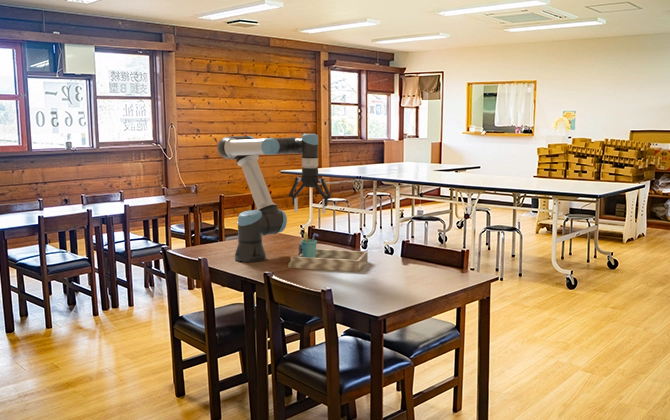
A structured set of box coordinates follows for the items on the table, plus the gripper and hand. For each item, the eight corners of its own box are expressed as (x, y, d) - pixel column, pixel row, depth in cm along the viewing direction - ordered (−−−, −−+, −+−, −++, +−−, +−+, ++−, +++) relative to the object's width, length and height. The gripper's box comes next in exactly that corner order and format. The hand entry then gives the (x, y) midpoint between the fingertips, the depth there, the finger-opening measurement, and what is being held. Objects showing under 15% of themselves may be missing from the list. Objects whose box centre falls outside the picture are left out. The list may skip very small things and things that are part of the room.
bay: (288, 267, 290) (288, 256, 289) (300, 258, 309) (300, 248, 308) (359, 271, 282) (359, 260, 281) (367, 261, 301) (367, 251, 301)
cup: (325, 264, 294) (325, 233, 292) (312, 267, 290) (311, 235, 288) (308, 259, 305) (308, 229, 303) (295, 261, 301) (295, 230, 299)
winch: (298, 256, 313) (297, 241, 312) (300, 254, 318) (300, 239, 317) (311, 257, 311) (311, 242, 310) (314, 255, 316) (314, 240, 315)
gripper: (281, 167, 290) (282, 212, 293) (334, 168, 285) (333, 214, 288) (286, 165, 297) (287, 210, 301) (338, 167, 292) (337, 212, 295)
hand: (309, 212), depth 294 cm, fingers open, 13 cm apart
